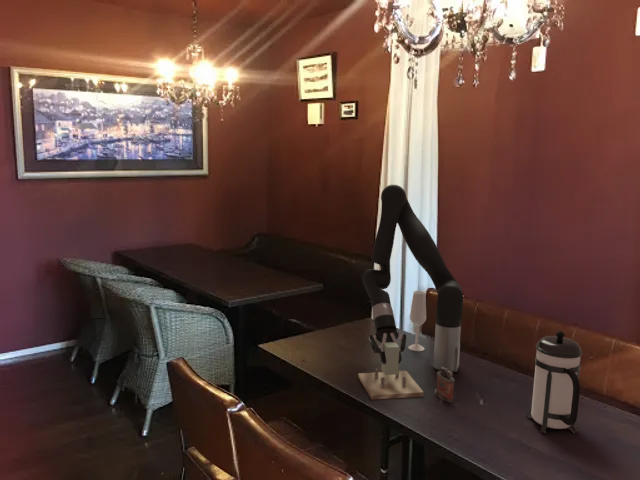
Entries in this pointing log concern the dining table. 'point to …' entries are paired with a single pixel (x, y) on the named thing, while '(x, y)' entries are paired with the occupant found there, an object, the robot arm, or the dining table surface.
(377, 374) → the peg board
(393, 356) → the sage block
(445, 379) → the lighter
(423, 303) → the champagne flute
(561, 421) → the coffee press
